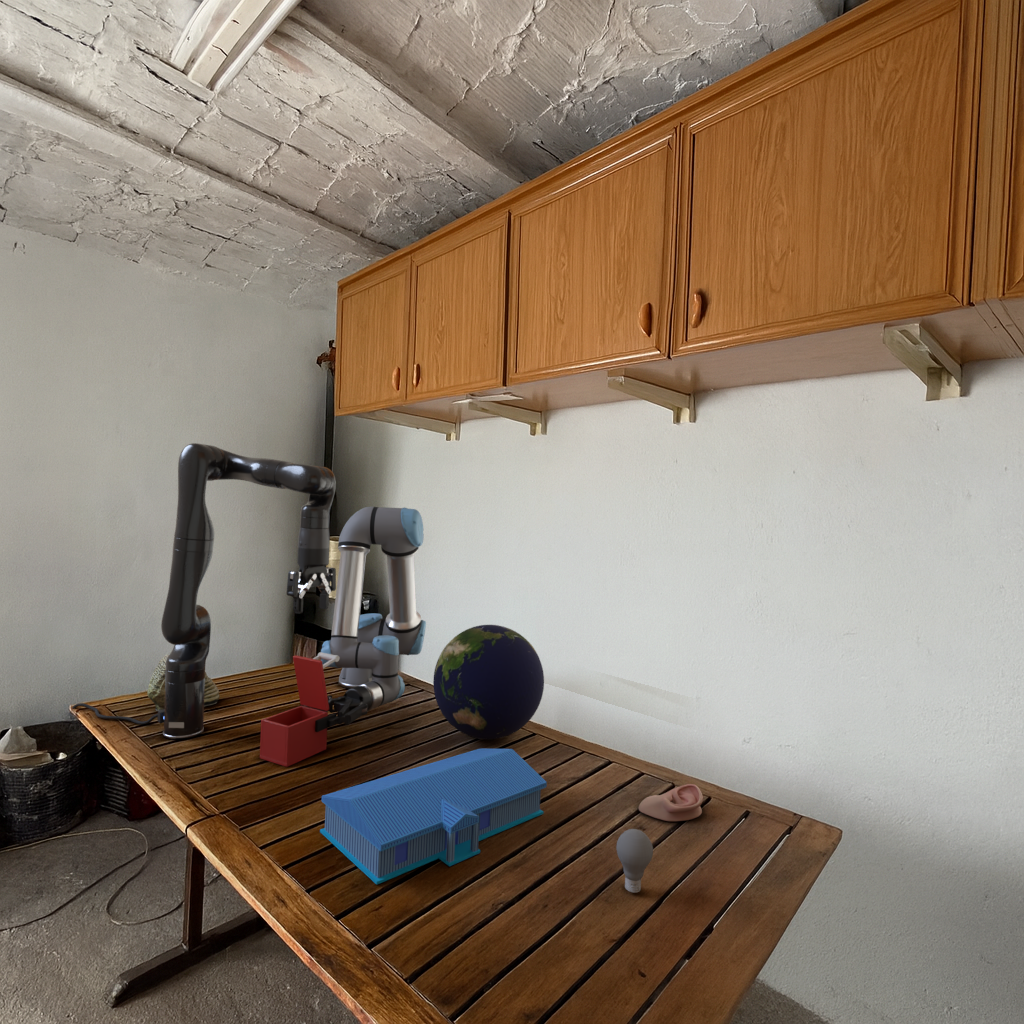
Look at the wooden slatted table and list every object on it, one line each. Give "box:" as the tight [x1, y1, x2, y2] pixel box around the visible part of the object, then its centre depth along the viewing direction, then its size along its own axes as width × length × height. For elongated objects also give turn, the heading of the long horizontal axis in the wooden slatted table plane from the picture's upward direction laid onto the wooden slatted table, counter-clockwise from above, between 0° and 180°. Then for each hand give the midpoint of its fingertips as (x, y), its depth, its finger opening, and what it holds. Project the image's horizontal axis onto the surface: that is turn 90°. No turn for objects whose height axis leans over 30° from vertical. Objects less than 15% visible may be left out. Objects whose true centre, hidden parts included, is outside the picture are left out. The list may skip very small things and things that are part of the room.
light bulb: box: [615, 828, 654, 894], centre depth 106 cm, size 6×6×10 cm
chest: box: [259, 705, 329, 768], centre depth 155 cm, size 13×9×9 cm
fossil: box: [147, 654, 221, 711], centre depth 185 cm, size 9×18×15 cm, turn 132°
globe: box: [432, 624, 545, 740], centre depth 172 cm, size 30×30×30 cm
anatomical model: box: [638, 783, 704, 822], centre depth 135 cm, size 13×4×12 cm
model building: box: [319, 747, 548, 885], centre depth 124 cm, size 39×24×10 cm, turn 132°
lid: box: [292, 651, 339, 711], centre depth 162 cm, size 13×9×8 cm
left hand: (311, 610), depth 158 cm, fingers open, 8 cm apart
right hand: (301, 722), depth 157 cm, fingers closed on chest, 9 cm apart
